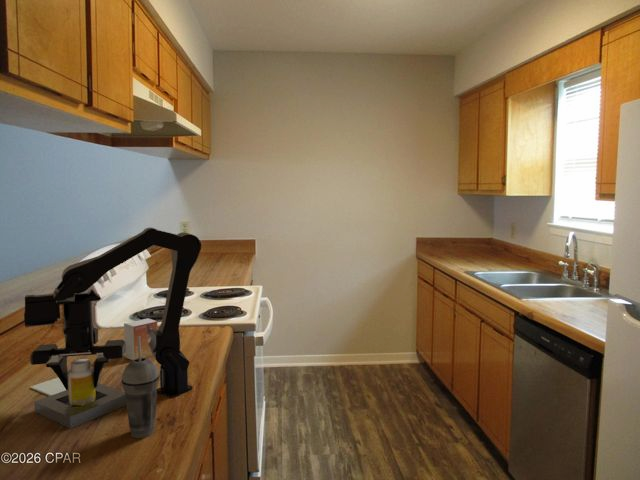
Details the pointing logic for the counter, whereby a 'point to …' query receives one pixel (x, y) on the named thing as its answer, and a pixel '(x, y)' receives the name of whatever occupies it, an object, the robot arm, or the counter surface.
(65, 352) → the robot arm
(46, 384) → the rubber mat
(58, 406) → the frame
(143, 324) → the small box
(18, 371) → the counter surface
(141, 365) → the beverage cup
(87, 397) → the supplement bottle
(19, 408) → the counter surface
